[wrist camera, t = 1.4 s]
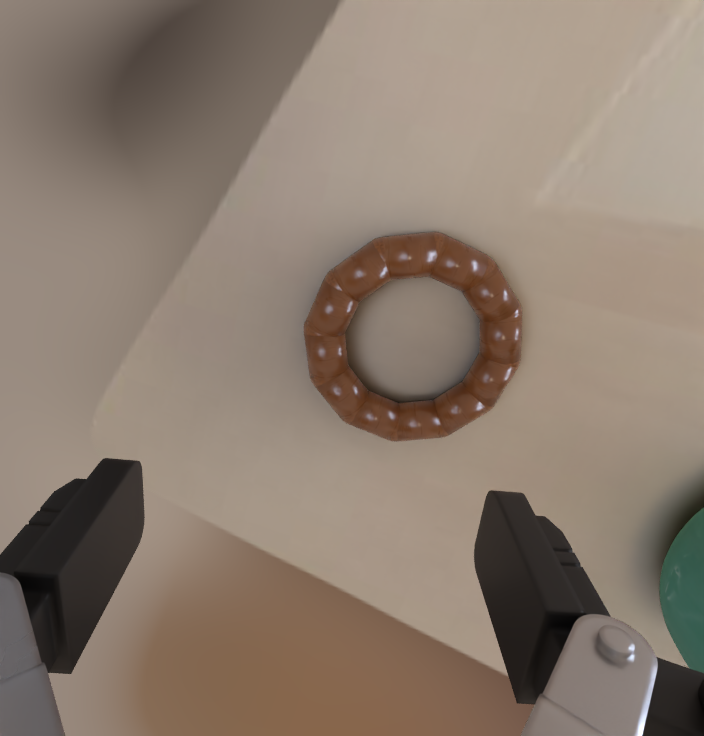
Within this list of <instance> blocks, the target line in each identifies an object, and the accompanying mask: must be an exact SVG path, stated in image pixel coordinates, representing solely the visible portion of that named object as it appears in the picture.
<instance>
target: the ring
mask: <svg viewBox="0 0 704 736" xmlns="http://www.w3.org/2000/svg"><path fill="white" fill-rule="evenodd" d="M427 276H430V277H432V278H434V279H436V280H438V281H440V282H443V283H445V284H447V285H449V286H451V287H453V288H455V289H458V290H460V291H462V293H463V294H464V296H465V297H466V299H467V301H468V302H469V304H470V305H471V307H472V308H473V310H474V311H475V313H476V314H477V316H478V318H479V319H480V352H479V354H478V356H477V358H476V359H475V361H474V363H473V364H472V366H471V368H470V370H469V371H468V373H467V375H466V376H465V378H464V380H463V382H461V383H459V384H458V385H456V386H455V387H453V388H451V389H450V390H448V391H447V392H445V393H443V394H442V395H440V396H438V397H437V398H435V399H434V400H427V401H416V402H405V403H397V402H394V401H392V400H390V399H387V398H385V397H382V396H380V395H378V394H375V393H373V392H370V391H368V390H367V389H366V388H365V386H364V385H363V384H362V382H361V381H360V380H359V378H358V377H357V376H356V375H355V373H354V372H353V371H352V369H351V368H350V367H349V365H348V358H347V348H346V338H345V332H346V330H347V328H348V326H349V323H350V321H351V319H352V317H353V315H354V313H355V311H356V309H357V307H358V305H359V302H360V301H361V300H363V299H364V298H366V297H367V296H369V295H370V294H371V293H373V292H374V291H376V290H377V289H379V288H380V287H382V286H383V285H384V284H386V283H387V282H389V281H390V280H395V279H406V278H416V277H427ZM521 333H522V308H521V305H520V303H519V301H518V299H517V298H516V296H515V294H514V293H513V291H512V289H511V288H510V286H509V284H508V283H507V281H506V279H505V278H504V276H503V275H502V273H501V271H500V270H499V268H498V266H497V265H496V263H495V262H494V260H493V259H492V258H491V257H489V256H488V255H486V254H484V253H481V252H479V251H477V250H475V249H473V248H471V247H469V246H467V245H465V244H463V243H461V242H459V241H457V240H454V239H452V238H450V237H448V236H446V235H444V234H442V233H438V232H428V233H418V234H408V235H398V236H387V237H379V238H376V239H374V240H372V241H371V242H370V243H368V244H367V245H365V246H364V247H363V248H361V249H360V250H358V251H357V252H356V253H354V254H353V255H351V256H350V257H349V258H347V259H346V260H344V261H343V262H342V263H340V264H339V265H337V266H336V267H335V268H333V269H332V270H331V271H329V272H328V274H327V275H326V276H325V278H324V281H323V283H322V285H321V287H320V290H319V292H318V294H317V296H316V299H315V301H314V303H313V305H312V308H311V310H310V312H309V314H308V317H307V319H306V321H305V324H304V336H305V344H306V351H307V359H308V366H309V373H310V379H311V381H312V383H313V384H314V386H315V387H316V388H317V390H318V391H319V392H320V393H321V394H322V396H323V397H324V398H325V399H326V401H327V402H328V403H329V404H330V406H331V407H332V408H333V409H334V411H335V412H336V413H337V414H338V415H339V417H340V418H341V419H342V420H343V421H344V422H346V423H348V424H350V425H352V426H355V427H357V428H360V429H362V430H365V431H367V432H370V433H372V434H375V435H377V436H380V437H382V438H385V439H387V440H390V441H407V440H418V439H430V438H441V437H446V436H448V435H450V434H452V433H453V432H455V431H457V430H458V429H460V428H462V427H463V426H465V425H467V424H468V423H470V422H472V421H473V420H475V419H477V418H478V417H480V416H482V415H483V414H485V413H487V412H488V411H490V410H491V409H492V408H493V407H494V405H495V404H496V402H497V400H498V399H499V397H500V395H501V394H502V392H503V391H504V389H505V387H506V386H507V384H508V382H509V381H510V379H511V378H512V376H513V374H514V373H515V371H516V370H517V368H518V366H519V364H520V360H521Z"/></svg>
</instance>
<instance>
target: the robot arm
mask: <svg viewBox="0 0 704 736" xmlns="http://www.w3.org/2000/svg"><path fill="white" fill-rule="evenodd" d="M143 527H144V499H143V478H142V466H141V463H140V462H139V461H133V460H121V459H109V458H105V459H103V460H102V461H101V462H100V463H99V464H98V466H97V467H96V468H95V469H94V470H93V472H92V473H91V474H90V475H89V477H88V478H87V479H74V480H72V481H71V482H69V483H68V484H66V485H65V486H63V487H61V488H59V489H58V490H56V491H54V493H53V494H52V495H51V496H50V497H49V498H48V500H47V501H46V502H45V503H44V504H43V506H42V507H41V509H40V511H37V513H36V514H35V515H34V516H33V517H32V518H31V520H30V521H29V524H28V525H25V526H24V528H23V529H22V530H21V531H20V532H19V533H18V535H17V536H16V537H15V538H14V539H13V541H12V542H11V543H10V544H9V545H8V546H7V547H6V549H5V550H4V551H3V552H2V553H1V555H0V736H65V733H64V730H63V726H62V723H61V719H60V716H59V712H58V708H57V705H56V701H55V697H54V694H53V690H52V686H51V683H50V679H49V675H48V673H63V674H71V673H72V671H73V669H74V667H75V665H76V663H77V661H78V659H79V657H80V656H81V654H82V652H83V650H84V648H85V646H86V644H87V642H88V640H89V638H90V637H91V634H92V633H93V631H94V629H95V627H96V625H97V623H98V621H99V619H100V617H101V616H102V614H103V612H104V610H105V608H106V606H107V604H108V602H109V601H110V599H111V597H112V595H113V593H114V591H115V589H116V587H117V585H118V583H119V581H120V579H121V578H122V576H123V574H124V572H125V570H126V568H127V566H128V564H129V562H130V561H131V558H132V557H133V555H134V553H135V551H136V549H137V547H138V545H139V543H140V540H141V537H142V533H143ZM474 562H475V569H476V573H477V576H478V580H479V583H480V586H481V589H482V592H483V596H484V599H485V602H486V605H487V608H488V612H489V615H490V618H491V621H492V624H493V628H494V631H495V634H496V637H497V641H498V644H499V647H500V650H501V653H502V657H503V660H504V663H505V666H506V669H507V673H508V676H509V679H510V682H511V685H512V689H513V692H514V695H515V698H516V701H517V703H521V704H535V705H534V707H533V710H532V712H531V714H530V716H529V718H528V720H527V723H526V725H525V727H524V729H523V731H522V734H521V736H704V673H702V672H699V671H695V670H692V669H689V668H686V667H683V666H680V665H677V664H674V663H671V662H668V661H665V660H663V659H660V658H658V657H656V655H655V653H654V651H653V649H652V647H651V646H650V645H649V643H648V642H647V641H646V640H645V639H644V638H643V637H642V635H640V634H639V633H638V632H637V631H636V630H634V629H633V628H631V627H630V626H628V625H627V624H625V623H623V622H621V621H619V620H617V619H615V618H612V617H611V616H610V614H609V613H608V611H607V609H606V607H605V606H604V604H603V602H602V600H601V599H600V597H599V595H598V593H597V592H596V590H595V588H594V586H593V585H592V583H591V581H590V579H589V578H588V576H587V574H586V572H585V571H584V569H583V567H580V562H579V560H578V558H577V557H576V555H575V553H572V548H571V546H570V544H569V543H568V541H567V539H566V537H565V536H564V534H563V532H562V531H561V530H560V529H558V528H557V527H556V526H555V525H554V524H553V523H552V522H551V521H550V520H548V519H547V518H546V517H544V516H535V514H534V512H533V510H532V508H531V506H530V504H529V502H528V500H527V499H526V497H525V495H524V494H523V493H517V492H504V491H489V492H488V494H487V496H486V500H485V504H484V508H483V512H482V516H481V521H480V525H479V529H478V533H477V538H476V542H475V549H474Z"/></svg>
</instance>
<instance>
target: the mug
mask: <svg viewBox="0 0 704 736" xmlns="http://www.w3.org/2000/svg"><path fill="white" fill-rule="evenodd" d="M660 602H661V608H662V612H663V616H664V620H665V623H666V625H667V628H668V630H669V632H670V635H671V637H672V639H673V641H674V643H675V645H676V646H677V648H678V650H679V652H680V654H681V655H682V657H683V658H684V660H685V662H686V663H687V665H688V667H689V668H690V669H692V670H695V671H699V672H702V673H704V507H703V508H702V509H701V510H700V511H699V512H697V513H696V514H695V515H694V516H693V517H692V518H691V519H690V520H689V521H688V522H687V523H686V525H685V526H684V527H683V528H682V529H681V530H680V532H679V533H678V535H677V536H676V538H675V539H674V541H673V543H672V544H671V546H670V548H669V550H668V552H667V555H666V557H665V560H664V562H663V567H662V571H661V576H660Z"/></svg>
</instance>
